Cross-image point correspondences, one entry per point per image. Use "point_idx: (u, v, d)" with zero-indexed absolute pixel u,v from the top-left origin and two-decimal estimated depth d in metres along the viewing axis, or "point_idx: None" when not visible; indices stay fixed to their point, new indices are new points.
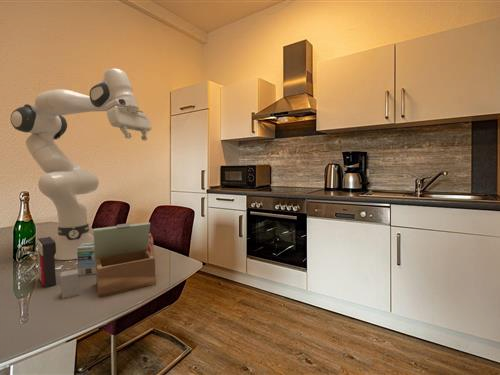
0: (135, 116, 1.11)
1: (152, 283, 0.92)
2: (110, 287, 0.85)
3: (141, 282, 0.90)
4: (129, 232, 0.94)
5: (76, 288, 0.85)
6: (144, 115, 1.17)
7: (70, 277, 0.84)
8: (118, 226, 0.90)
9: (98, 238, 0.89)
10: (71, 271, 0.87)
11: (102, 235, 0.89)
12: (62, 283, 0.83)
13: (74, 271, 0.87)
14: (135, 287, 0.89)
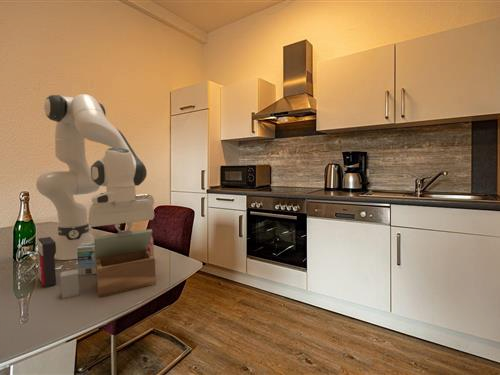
0: (127, 208, 0.91)
1: (152, 283, 0.92)
2: (110, 287, 0.85)
3: (141, 282, 0.90)
4: (130, 238, 0.92)
5: (76, 288, 0.85)
6: (145, 203, 0.94)
7: (70, 277, 0.84)
8: (119, 234, 0.88)
9: (99, 244, 0.88)
10: (71, 271, 0.87)
11: (102, 242, 0.88)
12: (62, 283, 0.83)
13: (74, 271, 0.87)
14: (135, 287, 0.89)
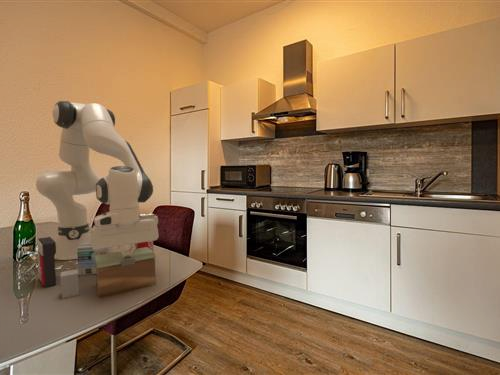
0: (131, 229, 0.88)
1: (152, 283, 0.92)
2: (110, 287, 0.85)
3: (141, 282, 0.90)
4: None
5: (76, 288, 0.85)
6: (149, 223, 0.91)
7: (70, 277, 0.84)
8: (122, 264, 0.86)
9: None
10: (71, 271, 0.87)
11: None
12: (62, 283, 0.83)
13: (74, 271, 0.87)
14: (135, 287, 0.89)
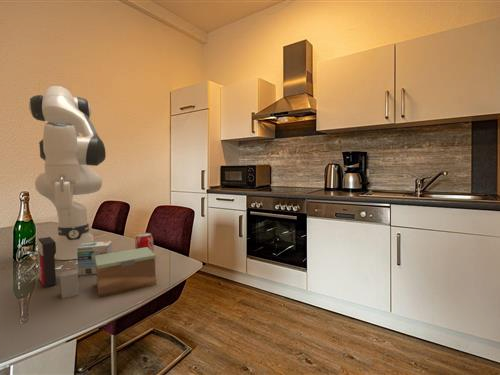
0: None
1: (152, 283, 0.92)
2: (110, 287, 0.85)
3: (141, 282, 0.90)
4: None
5: (76, 288, 0.85)
6: None
7: (70, 277, 0.84)
8: (122, 264, 0.86)
9: None
10: (71, 271, 0.87)
11: None
12: (62, 283, 0.83)
13: (74, 271, 0.87)
14: (135, 287, 0.89)
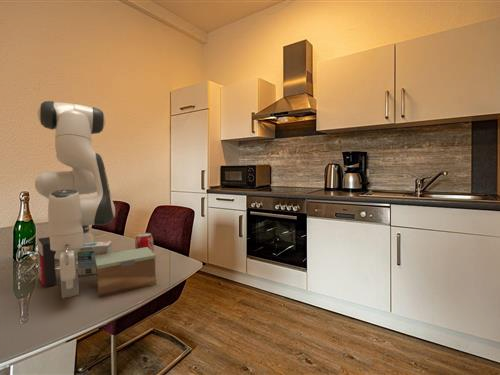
0: None
1: (152, 283, 0.92)
2: (110, 287, 0.85)
3: (141, 282, 0.90)
4: None
5: (76, 288, 0.85)
6: None
7: None
8: (122, 264, 0.86)
9: None
10: None
11: None
12: (62, 283, 0.83)
13: None
14: (135, 287, 0.89)
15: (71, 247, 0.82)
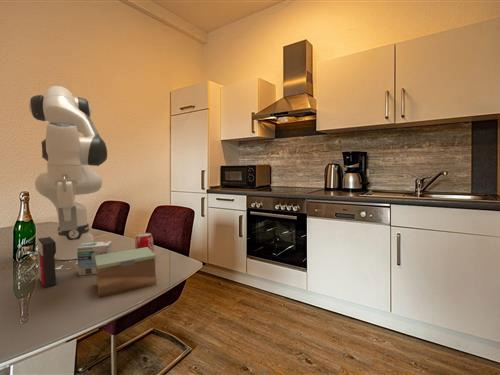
0: None
1: (152, 283, 0.92)
2: (110, 287, 0.85)
3: (141, 282, 0.90)
4: None
5: (75, 222, 0.84)
6: None
7: None
8: (122, 264, 0.86)
9: None
10: None
11: None
12: (60, 215, 0.82)
13: None
14: (135, 287, 0.89)
15: (69, 178, 0.81)
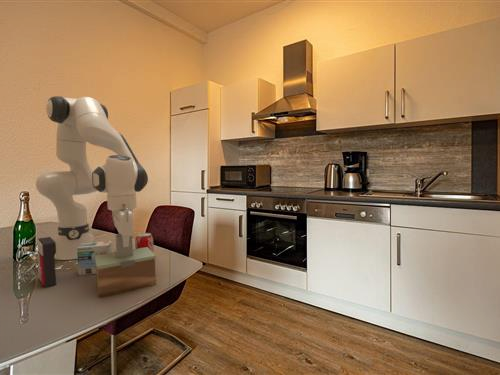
0: (118, 217, 0.89)
1: (152, 283, 0.92)
2: (110, 287, 0.85)
3: (141, 282, 0.90)
4: None
5: (131, 249, 0.91)
6: (119, 215, 0.84)
7: None
8: (122, 265, 0.86)
9: None
10: None
11: None
12: (119, 244, 0.89)
13: None
14: (135, 287, 0.89)
15: (127, 207, 0.88)
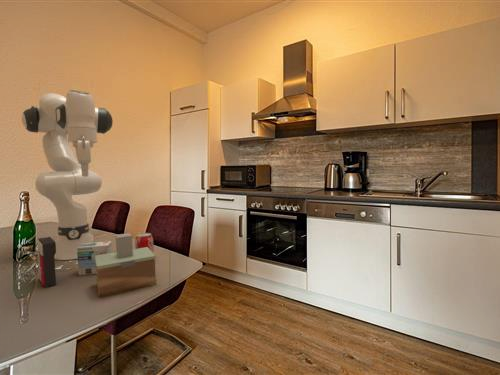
0: None
1: (152, 283, 0.92)
2: (110, 287, 0.85)
3: (141, 282, 0.90)
4: None
5: (131, 249, 0.91)
6: None
7: (125, 238, 0.90)
8: (122, 265, 0.86)
9: None
10: (125, 234, 0.93)
11: None
12: (119, 244, 0.89)
13: (127, 234, 0.93)
14: (135, 287, 0.89)
15: (86, 139, 0.93)
